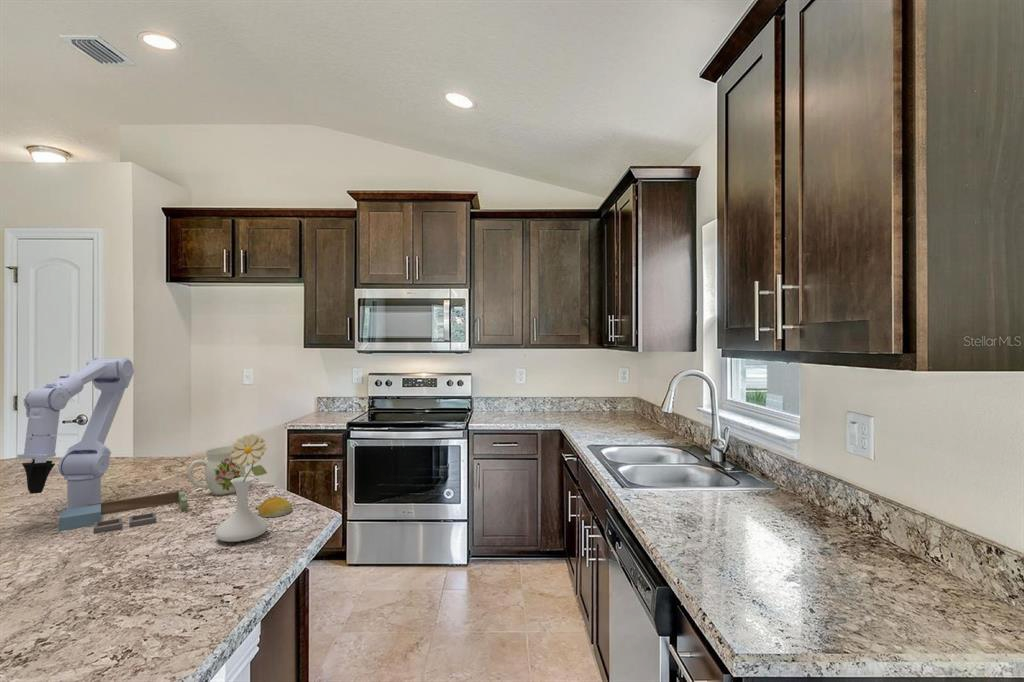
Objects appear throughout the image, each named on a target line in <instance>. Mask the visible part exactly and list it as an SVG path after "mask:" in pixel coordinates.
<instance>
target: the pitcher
mask: <svg viewBox="0 0 1024 682" xmlns="http://www.w3.org/2000/svg"><path fill="white" fill-rule="evenodd" d="M231 448H233V445H228V446H222V447H215V448H210V449H208V450H206V451H205V454H206V457H207V460H206V459H205V460H204V459H196V460H193V461H192V462H191V464H190V465H189V466H188V469H187V478H188V481H189V483H190V484H191V485H193V486H195V487H196V488H202V489H209V490H210V492H211V493H212V495H216V496H225V494H226V495H230V493H231V494H234V493H236V490H235V487H234V485H233V484H232V483H231V480H232V479H235V478H240V477H245V474H244V473H242V472H240V471H237V470H235V469H234V468H233V467H232V466H234V467H235V468H237V469H240V470H243V471H244V472H245V473H246V466H245V467H242V466H241V464H240V465H236V463H235V464H234V463H233V462H232V459H233V458H231V455H232V454H230V451H231ZM196 465H197V466H198V465H204V466H205V467H204V477H205V482H204V483H202V482H199V481H197V480H195V478H194V477H193V471H194V468H195V467H196ZM233 492H234V493H233Z"/></svg>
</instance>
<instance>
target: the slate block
mask: <svg viewBox="0 0 1024 682" xmlns="http://www.w3.org/2000/svg"><path fill="white" fill-rule="evenodd" d="M100 521H102V515H101V504H98V505H91V506H85V507H78V508H72V509H66V508H65V509H61V510H60V514H59V517H58V532H64V531H69V530H74V529H79V528H87V527H91V526H94V524H95V522H100Z"/></svg>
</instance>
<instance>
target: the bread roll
mask: <svg viewBox="0 0 1024 682" xmlns="http://www.w3.org/2000/svg"><path fill="white" fill-rule="evenodd" d="M257 511H258V513H259V514H260V515H261V518H265V517H269V518H278V516H280V517H283V516H286V515H288V514H290V513H291V512H292V511H293V505H292V503H291V502H290V501H288V500H287V499H286V498H284V497H279V496H274V497H268V498H267V499H265V500H264V501H262V502H261V503H260V504H259V505H258V509H257ZM289 512H290V513H289ZM287 513H288V514H287ZM285 514H286V515H285ZM282 515H283V516H282Z"/></svg>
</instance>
